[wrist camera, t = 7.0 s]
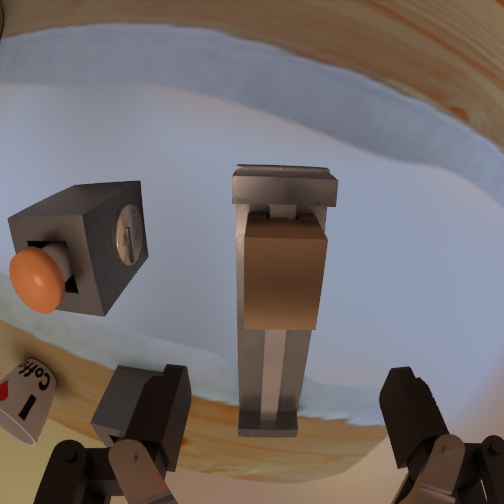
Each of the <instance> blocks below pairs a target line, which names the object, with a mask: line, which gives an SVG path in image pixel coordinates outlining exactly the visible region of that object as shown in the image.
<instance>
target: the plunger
mask: <svg viewBox="0 0 504 504" xmlns="http://www.w3.org/2000/svg"><path fill="white" fill-rule="evenodd" d="M9 271H10V278H11V281H12V284H13V287H14V289H15V291H16V292H17V294H18V295H19V297H20V298H21V299H22V301H23V302H24V303H25V304H26V305H27V306H29V307H30V308H31V309H33V310H35V311H37V312H39V313H50V312H52V311H53V310H54V309H55V308H56V307H57V306H58V305H59V304H60V303H61V301H62V300H63V298H64V295H65V282H66V281H67V280H68V279H69V278H70V277H71V276H72V275H73V274H74V273H73V269H72V265H71V261H70V256H69V252H68V247H67V243H66V241H52V242H50V243H49V244H48V245H46V246H45V247H44V248H42V249H40V248H37V247H32V246H31V247H26V248H24V249H23V250H21V251H20V252H19V253H17V254H16V255H15V256H14V257H13V258H12V260H11V262H10V270H9Z"/></svg>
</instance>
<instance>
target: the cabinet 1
mask: <svg viewBox="0 0 504 504" xmlns="http://www.w3.org/2000/svg"><path fill="white" fill-rule="evenodd" d="M8 223H9V227H10V231H11V236H12V240H13V244H14V248H15V252H16V254H17V253H19V252H20V251H21V250H23V249H24V248H26V247H31V246H32V247H37V248H40V249H42V248H44V247H45V246H46V245H48V244H49V243H50V242H52V241H66V243H67V247H68V252H69V256H70V261H71V265H72V269H73V273H74V274H73V275H72V276H71V277H70V278H69V279H68V280H67V281H66V282H65V295H64V298H63V300H62V301H61V303H60V304H59V305H58V306H57V307H56V308H55V310H61V311H68V312H75V313H82V314H89V315H96V316H106V314H107V313H108V311H109V309H110V308H111V307H112V306H113V304H114V302H115V301H116V300H117V298H118V297H119V296H120V294H121V293H122V292H123V290H124V289H125V287H126V286H127V285H128V283H129V282H130V281H131V279H132V278H133V277H134V275H135V274H136V273H137V271H138V270H139V269H140V267H141V266H142V265H143V263H144V262H145V261H146V259H147V258H148V250H147V242H146V234H145V225H144V217H143V207H142V195H141V183H140V181H125V182H110V183H95V184H82V185H74V186H71V187H69V188H67V189H65V190H63V191H61V192H58V193H56V194H54V195H52V196H50V197H48V198H46V199H44V200H42V201H40V202H38V203H36V204H34V205H32V206H30V207H28V208H26V209H24V210H22V211H20V212H19V213H17V214H15V215H13V216H11V217H9V218H8Z"/></svg>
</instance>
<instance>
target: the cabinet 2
mask: <svg viewBox="0 0 504 504" xmlns="http://www.w3.org/2000/svg"><path fill="white" fill-rule="evenodd" d="M153 375H155V376H162V375H163V372H155V371H148V370H141V369H134V368H128V367H122V366H117V368H116V370H115V372H114V374H113V376H112V378H111V381H110V383H109V385H108V387H107V389H106V391H105V393H104V395H103V397H102V399H101V401H100V403H99V405H98V408H97V410H96V412H95V414H94V416H93V418H92V421H91V425H92V426H93V428H94V429H95V431H96V432H97V434H98V435H99V437H100V438H101V440H102V441H103V443H104V444H105V446H106V447H107V448H108V447H112V446H113V445H114V444H115V443H116V442H117V439H118V437H120V438H123V437H124V436H125V433H126V431H127V428H128V425H129V423H130V420H131V417H132V415H133V412H134V410H135V407H136V405H137V402H138V399H139V397H140V396H141V395H140V394H141V392H142V389H143V387H144V384H145V383H146V382H147V381H148V380H149V379H150V378H151V377H152V376H153Z"/></svg>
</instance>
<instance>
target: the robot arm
mask: <svg viewBox="0 0 504 504" xmlns="http://www.w3.org/2000/svg"><path fill="white" fill-rule="evenodd" d="M2 24H3V12H2V8H1V7H0V34H1V30H2ZM140 395H141V396H140V397H139V399H138V402H137V405H136V407H135V410H134V412H133V415H132V417H131V420H130V423H129V425H128V428H127V431H126V433H125V436H124V437H123V439H122V440H121V441H118V442H117V443H115V444H114V445H113V446H112V447H108V448H84V446H83V445H82V444H81V443H79V442H78V441H74V440H64V441H62V442H60V443H58V444H57V445H56V446H55V448H54V450H53V452H52V454H51V457H50V459H49V462H48V465H47V467H46V470H45V472H44V475H43V478H42V480H41V483H40V486H39V488H38V491H37V494H36V497H35V500H34V503H33V504H110V500H111V496H125V498H126V500H127V502H128V504H178V503H177V501H176V500H175V498H174V497H173V495H172V493H171V491H170V490H169V488H168V487H167V485H166V483H165V481H164V479H165V476H166V471H171V472H175V469H176V465H177V460H178V456H179V452H180V447H181V443H182V439H183V434H184V430H185V426H186V422H187V417H188V413H189V409H190V405H191V387H190V382H189V376H188V370H187V367H186V366H181V365H172V364H167V365H166V367H165V369H164V372H163V375H162V376H155V375H153V376H152V377H151V378H150V379H149V380H148V381H147V382H146V383H145V384H144V387H143V389H142V392H141V394H140ZM379 403H380V408H381V411H382V414H383V418H384V421H385V424H386V428H387V431H388V435H389V438H390V442H391V445H392V449H393V452H394V456H395V460H396V463H397V467H398V469H400V468H405V467H408V471H409V472H408V473H407V475H406V477H405V478H404V480H403V482H402V484H401V486H400V489H399V490H398V492H397V494H396V496H395V498H394V500H393V501H392V503H391V504H504V440H503V439H502V438H501V437H499V436H495V435H491V436H488V437H487V438H486V439H485V440H484V441H483V442H482V443H463V441H462V440H461V439H460V438H459V437H457V436H455V435H452V434H450V433H449V431H448V430H447V427H446V424H445V422H444V420H443V417H442V415H441V413H440V411H439V408H438V406H437V405H436V402H435V399H434V397H432V393H431V391H430V389H429V387H428V385H427V384H426V383H425V382H424V381H423V380H422V379H421V378H420V377H419V378H415V376H414V374H413V372H412V369H411V368H410V367H399V368H392V369H391V370H390V371H389V374H388V376H387V378H386V381H385V383H384V385H383V387H382V390H381V392H380V397H379ZM481 480H482V482H483V485H484V489H485V492H486V496H487V502H486V498H485V494H484V490H483V487H482V483H481Z"/></svg>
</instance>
